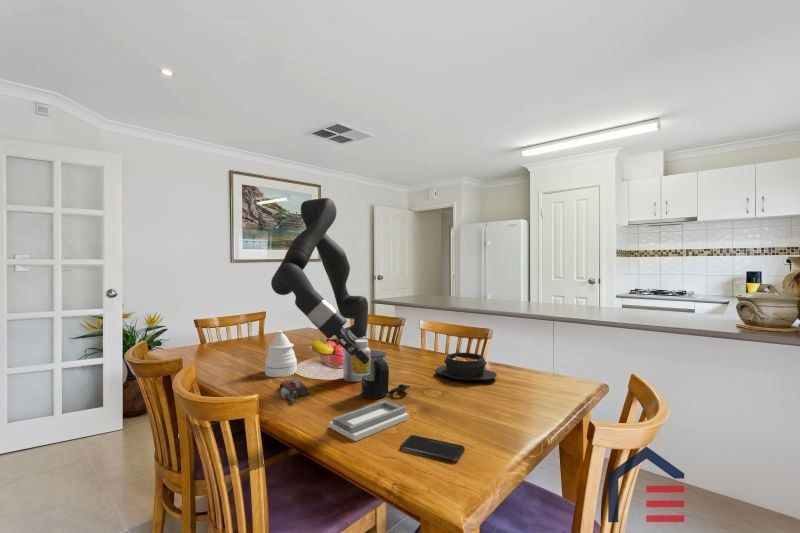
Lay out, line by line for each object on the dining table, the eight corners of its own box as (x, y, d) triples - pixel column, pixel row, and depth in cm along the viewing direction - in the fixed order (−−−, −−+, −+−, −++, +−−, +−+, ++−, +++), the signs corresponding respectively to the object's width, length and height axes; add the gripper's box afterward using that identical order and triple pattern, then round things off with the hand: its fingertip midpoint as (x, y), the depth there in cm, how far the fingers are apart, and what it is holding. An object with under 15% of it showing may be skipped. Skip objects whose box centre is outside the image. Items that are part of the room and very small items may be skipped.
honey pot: (291, 377, 156) (291, 333, 156) (260, 377, 156) (260, 333, 156) (300, 368, 169) (300, 327, 169) (271, 368, 169) (271, 327, 169)
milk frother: (355, 395, 135) (355, 353, 135) (387, 384, 146) (386, 345, 146) (383, 405, 125) (383, 360, 125) (415, 393, 137) (415, 351, 136)
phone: (456, 460, 89) (398, 447, 95) (456, 465, 89) (398, 451, 96) (466, 446, 96) (411, 434, 103) (466, 450, 96) (411, 438, 103)
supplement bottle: (349, 372, 114) (349, 339, 114) (367, 370, 116) (367, 338, 116) (354, 377, 109) (354, 343, 109) (372, 375, 111) (372, 341, 111)
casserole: (501, 375, 158) (501, 354, 158) (490, 388, 142) (490, 365, 141) (444, 367, 170) (444, 348, 169) (427, 379, 153) (427, 358, 153)
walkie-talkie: (273, 389, 142) (290, 406, 125) (273, 377, 142) (290, 393, 125) (297, 385, 147) (316, 401, 130) (297, 374, 147) (316, 388, 130)
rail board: (382, 408, 123) (382, 398, 123) (408, 419, 114) (408, 409, 114) (329, 427, 109) (329, 416, 109) (355, 441, 100) (355, 429, 100)
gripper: (333, 312, 105) (376, 356, 106) (338, 307, 119) (376, 345, 120) (313, 332, 105) (357, 375, 105) (321, 324, 119) (359, 362, 120)
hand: (367, 359), depth 113 cm, fingers closed on supplement bottle, 5 cm apart
